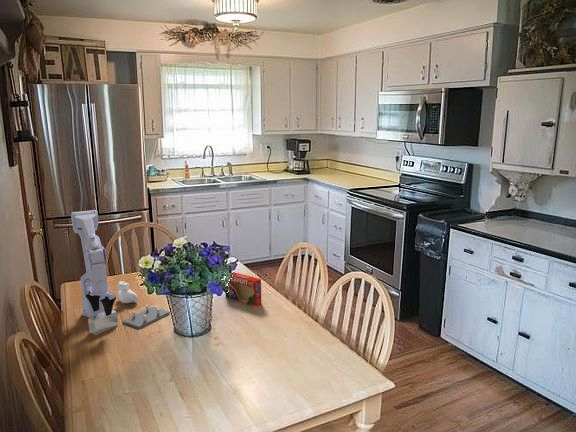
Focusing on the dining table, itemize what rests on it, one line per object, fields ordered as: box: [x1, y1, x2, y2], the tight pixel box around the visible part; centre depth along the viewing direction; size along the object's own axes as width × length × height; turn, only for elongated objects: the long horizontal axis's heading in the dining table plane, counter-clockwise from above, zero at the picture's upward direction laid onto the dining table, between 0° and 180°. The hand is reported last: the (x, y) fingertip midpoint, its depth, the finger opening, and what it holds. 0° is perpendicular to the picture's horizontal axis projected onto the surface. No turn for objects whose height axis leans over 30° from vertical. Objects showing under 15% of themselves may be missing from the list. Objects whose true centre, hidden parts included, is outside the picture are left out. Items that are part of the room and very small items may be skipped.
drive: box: [87, 309, 119, 336], centre depth 175 cm, size 4×10×6 cm, turn 149°
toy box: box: [225, 271, 262, 308], centre depth 200 cm, size 18×4×12 cm, turn 54°
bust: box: [116, 280, 139, 305], centre depth 199 cm, size 12×8×11 cm
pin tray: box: [121, 304, 171, 330], centre depth 184 cm, size 10×16×4 cm, turn 148°
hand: (102, 312), depth 174 cm, fingers open, 7 cm apart
